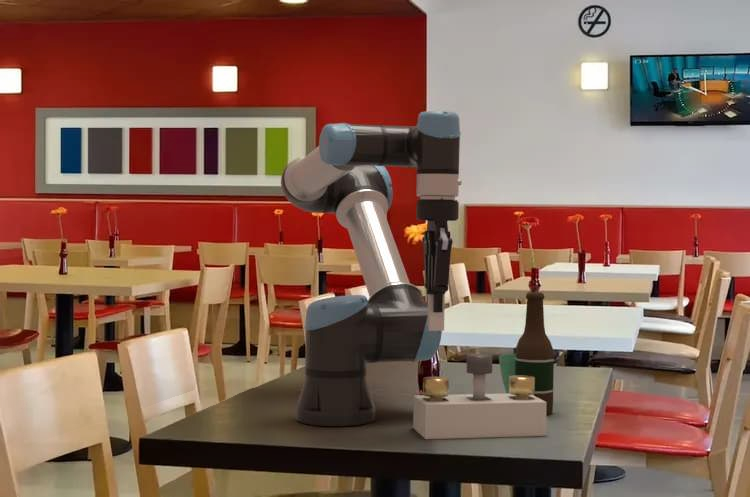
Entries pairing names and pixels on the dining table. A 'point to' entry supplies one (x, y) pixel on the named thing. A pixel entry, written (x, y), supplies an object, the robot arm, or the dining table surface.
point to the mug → (507, 368)
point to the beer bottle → (536, 351)
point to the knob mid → (479, 373)
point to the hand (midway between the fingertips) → (435, 330)
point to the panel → (479, 416)
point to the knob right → (521, 386)
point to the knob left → (435, 388)
